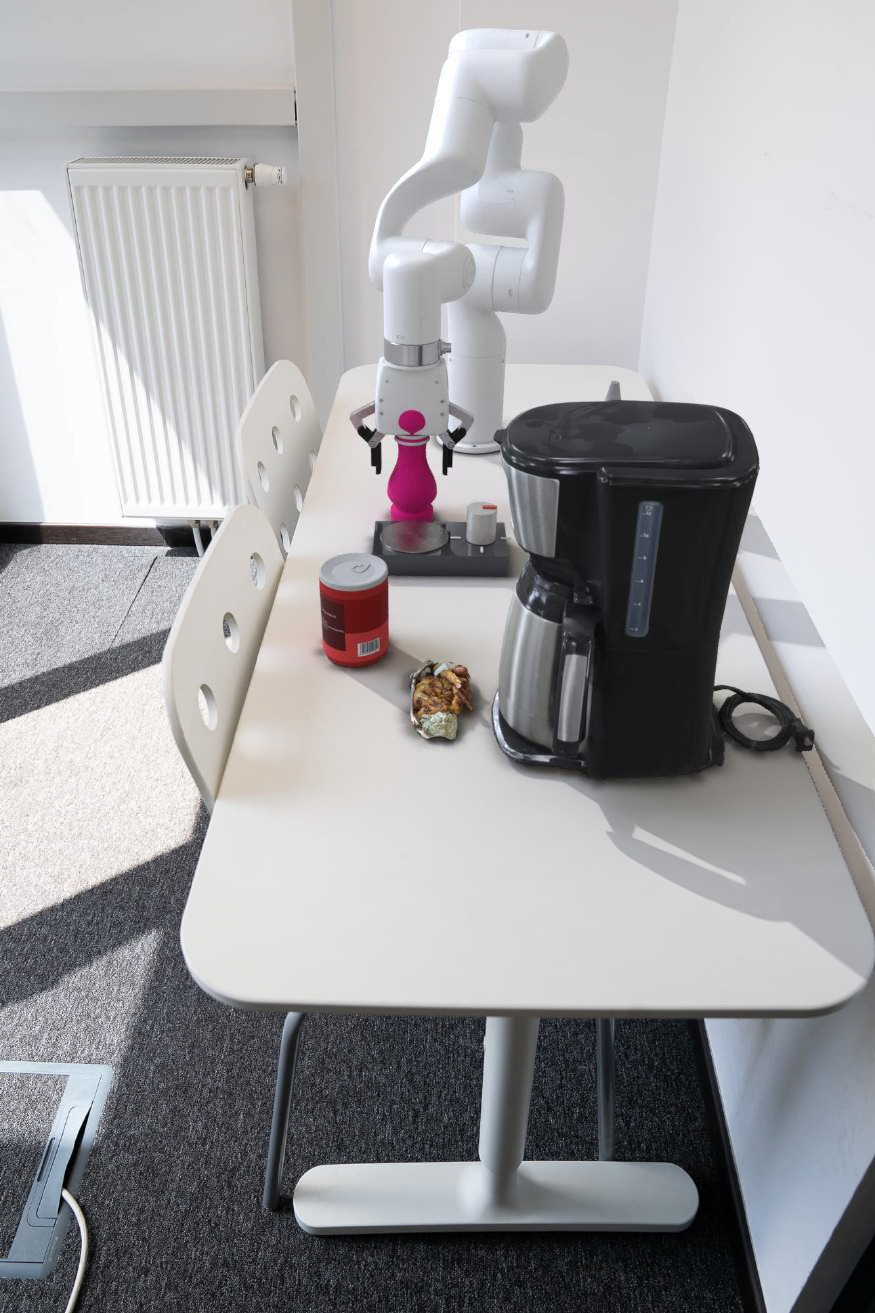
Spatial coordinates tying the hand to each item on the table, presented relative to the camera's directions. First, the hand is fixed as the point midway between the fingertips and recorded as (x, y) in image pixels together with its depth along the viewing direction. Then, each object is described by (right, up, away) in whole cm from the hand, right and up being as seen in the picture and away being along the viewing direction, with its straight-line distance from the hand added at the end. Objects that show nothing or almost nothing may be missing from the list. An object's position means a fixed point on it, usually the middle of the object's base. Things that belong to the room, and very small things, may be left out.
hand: (411, 471), depth 146 cm
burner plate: (0, -10, -7) cm, 13 cm away
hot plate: (+4, -13, -6) cm, 15 cm away
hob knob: (+9, -10, -7) cm, 16 cm away
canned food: (-6, -26, -25) cm, 36 cm away
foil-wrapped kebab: (+4, -32, -34) cm, 47 cm away
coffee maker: (+24, -36, -38) cm, 58 cm away
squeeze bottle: (+29, -2, +11) cm, 31 cm away
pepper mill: (0, -6, +4) cm, 8 cm away
